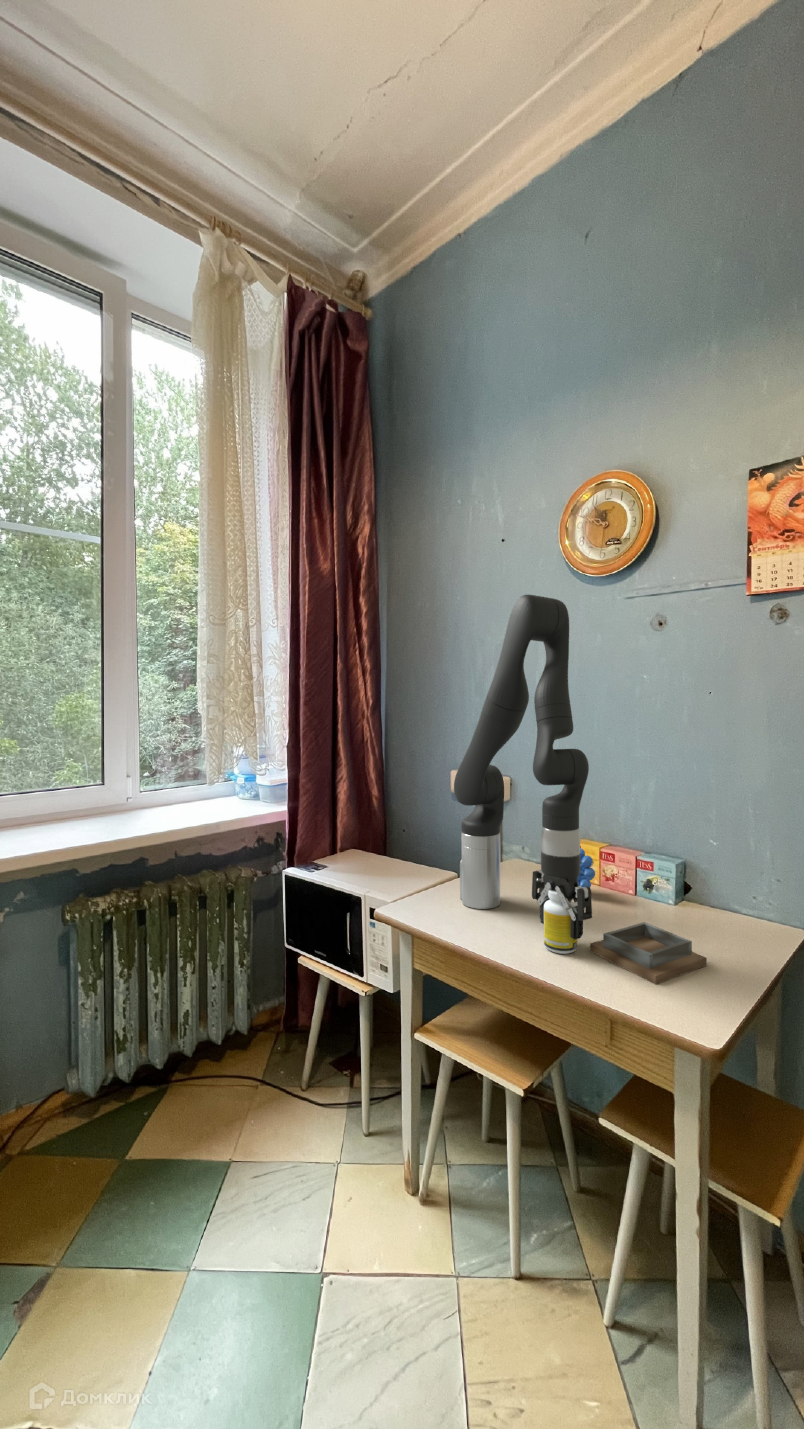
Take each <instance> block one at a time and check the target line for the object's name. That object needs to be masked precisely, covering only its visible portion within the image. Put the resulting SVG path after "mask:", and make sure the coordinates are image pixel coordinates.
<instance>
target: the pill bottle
mask: <svg viewBox="0 0 804 1429" xmlns="http://www.w3.org/2000/svg"><path fill="white" fill-rule="evenodd" d="M548 897H549V898H550V900H548V901H546V902H545V904H544V924H543V945H544V947H545V948H546V949H547V950H548V951H550V952H553V953H556V954H561V955H562V954H563V955H564V954H565V955H566V954H571V953H574V952H575V951H576V950H577V949H578V939H573V938H571V920H572V918H571V916H570V914H569V912H568V910H566V909H565V908H564V905H563V903H562V901H561V899H560V896H559V895H558V894H557V892H556V891H554V890H549V891H548ZM569 903H574V901H573V900H571V901H570V902H569ZM574 911H575V913H577V911H576V909H575V908H574Z"/></svg>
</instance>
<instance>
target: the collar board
mask: <svg viewBox="0 0 804 1429" xmlns="http://www.w3.org/2000/svg"><path fill="white" fill-rule="evenodd" d="M602 938H603V939H601V940H597V941H593V942H592V943H591V942H590V944H589V950H590V952H591V953H593V952H594V953H593V954H595V955H597V956H600V957H601V958H602V959H605V960H607V961H610V962H611V963H613V964H615V965H617V966H619V967H621V968H622V969H624V970H627V971H629V972H631V973H632V974H635V975H637V976H639V977H640V978H642V979H644V980H646V981H648V982H650V983H653V984H654V985H658V984H660V983H663V982H666V981H668V980H671V979H674V978H677V977H679V976H682V975H684V974H687V973H690V972H692V971H693V972H694V971H695V970H698V969H699V970H700V969H701V968H704V967H707V959H708V958H707V957H706V956H704V955H701V954H699V953H697V952H694V951H692V949H693V948H692V947H693V945H692V944H693V942H692V940H690V939H687V938H685V937H682V936H680V935H677V934H676V933H672V932H670V931H667V930H665V929H662V928H660V927H658V926H656V925H653V924H650V923H648V922H645V921H642V922H639V923H636V924H633V925H628V926H625V927H623V928H620V929H615V930H612V931H608V932H604V933H603V936H602Z"/></svg>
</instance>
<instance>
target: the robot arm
mask: <svg viewBox="0 0 804 1429" xmlns="http://www.w3.org/2000/svg"><path fill="white" fill-rule="evenodd" d="M531 641H534V642H542V643H543V646H544V649H545V656H546V657H545V664H544V668H543V671H542V673H541V676H540V677H539V680H538V683H537V685H536V688H535V692H534V697H533V700H534V702H533V703H534V713H535V714H534V715H535V719H536V729H537V731H536V740H535V741H536V743H535V748H534V749H535V750H534V756H533V761H532V773H533V776H534V778H535V780H537V781H538V783H539V784H541V785H542V786H563V788H562V790H561V791H560V792H559V793H557V794H554V795H550V796H547V797H545V798H544V799H543V801H542V805H541V806H542V807H541V808H542V809H541V810H542V812H541V813H542V814H541V817H542V820H541V822H542V824H541V834H540V869H538V870H534V871H532V876H531V877H532V878H531V880H532V881H531V882H532V883H531V897H532V899H533V900H536V902H537V905H539V920H540V921H539V922H540V923H541V924H543V925H544V904H545V902H546V901H548V900H550V898H549V897H548V891H549V890H554V891H556V892H557V894H558V895H559V896H560V899H561V901H562V903H563V905H564V908H565V909H566V910H568V912H569V914H570V916H571V918H572V920H571V938H573V939H577V940H578V939H581V938H582V936H583V935H584V921H586V920H589V919H593V908H592V905H593V904H592V889H591V887H580V886H579V885H578V882H577V878H578V876H579V874H580V848H581V834H580V805H581V801H582V798H583V794H584V790H585V786H586V784H587V781H588V776H589V770H590V768H589V766H590V765H589V760H588V758H587V756H586V754H585V753H584V752H583V751H582V750H581V749H578V748H559V749H558V748H554V743H555V741H556V740H559V739H564V738H567V737H570V736H571V735H572V734H573V732H574V721H573V714H572V707H571V706H572V705H571V699H570V690H569V688H570V687H569V658H570V657H569V656H570V655H569V654H570V650H569V649H570V616H569V611H568V608H567V606H566V604H565V603H564V602H563V601H562V600H559V599H558V598H553V597H547V596H546V597H545V596H540V595H535V594H523V595H521V596H520V597H519V598H518V599H517V600H516V601H515V603H514V605H513V607H512V608H511V612H510V614H509V617H508V621H507V625H506V630H505V634H504V638H503V643H502V648H501V650H500V651H501V652H500V655H499V659H498V662H497V665H496V668H495V671H494V675H493V677H492V681H491V683H490V685H489V687H488V691H487V694H486V697H485V700H484V703H483V705H482V709H481V712H480V715H479V718H478V721H477V724H476V727H475V730H474V732H473V735H472V738H471V740H470V743H469V745H468V747H467V750H466V752H465V754H464V756H463V758H462V760H461V763H460V765H459V767H458V769H457V771H456V775H455V777H454V781H453V782H454V783H453V793H454V795H455V798H456V801H457V802H458V803H459V804H460V805H463V806H470V807H471V806H475V807H474V808H473V810H472V811H471V812H470V813H469V814H468V815H467V816H465V818H463V819H462V821H461V824H460V825H461V826H460V827H461V829H460V831H461V860H460V861H459V899H460V900H461V903H462V904H463V905H464V906H466V907H468V908H472V909H477V910H478V909H479V910H488V909H494V908H497V907H498V906H500V905H501V826H502V823H503V819H504V807H505V806H504V805H505V781H504V777H503V774H502V771H501V770H500V769H499V768H498V767H497V766H496V765H493V764H491V762H492V760H493V759H494V758H495V756H496V755H497V754H498V752H500V750H501V749H502V748H503V747H504V746H505V745H506V744H507V743H508V742H509V741H510V739H511V738H512V737H513V736H514V734H516V732H517V731H518V730H519V728H520V726H521V724H522V722H523V718H524V716H525V714H526V711H527V708H528V705H529V701H530V694H529V687H528V684H527V679H526V675H525V667H524V665H525V664H524V663H525V658H526V654H527V650H528V647H529V645H530V643H531ZM570 901H573V903H569V902H570ZM574 908H575V909H576V911H577V913H575V911H574Z"/></svg>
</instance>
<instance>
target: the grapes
mask: <svg viewBox="0 0 804 1429" xmlns="http://www.w3.org/2000/svg"><path fill="white" fill-rule="evenodd" d="M593 862H594V861H593V858H592V856H590V855H586V852H585V850H584V849H583V848H582V847H580V874H579V876H578V878H577V882H578V885H579V886H580V887H590V888H591V886H592V880H594V878H595V876H596V871H595V870H594V868H592V866H593V864H594V863H593Z"/></svg>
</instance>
